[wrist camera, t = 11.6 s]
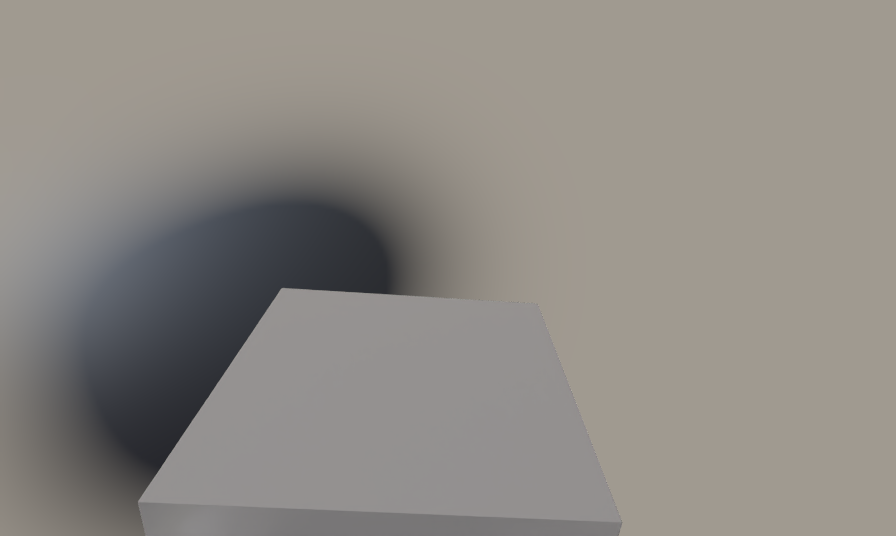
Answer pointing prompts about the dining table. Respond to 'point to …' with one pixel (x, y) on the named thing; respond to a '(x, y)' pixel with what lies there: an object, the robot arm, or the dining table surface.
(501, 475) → the basalt block
